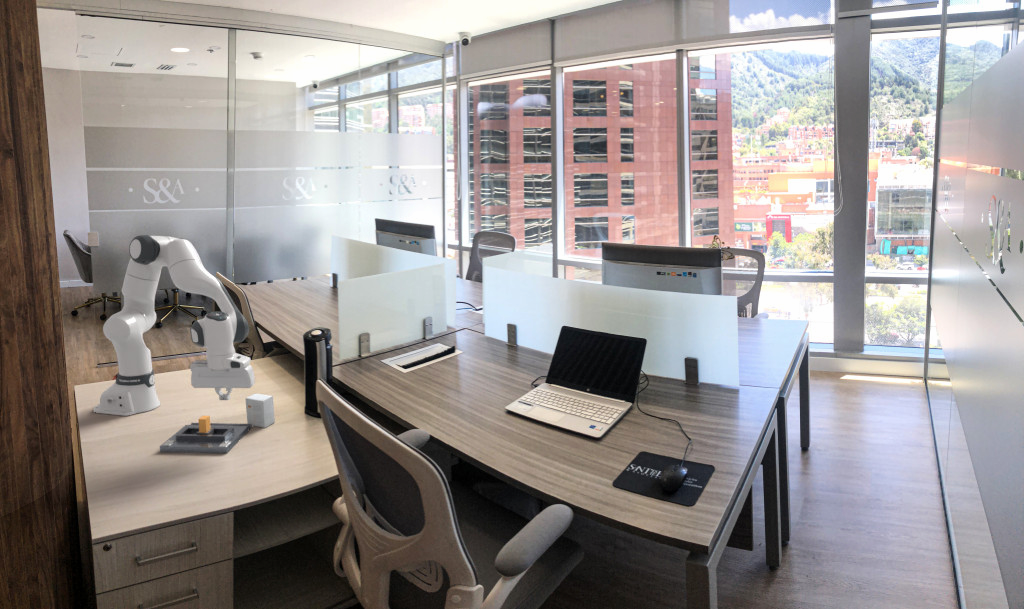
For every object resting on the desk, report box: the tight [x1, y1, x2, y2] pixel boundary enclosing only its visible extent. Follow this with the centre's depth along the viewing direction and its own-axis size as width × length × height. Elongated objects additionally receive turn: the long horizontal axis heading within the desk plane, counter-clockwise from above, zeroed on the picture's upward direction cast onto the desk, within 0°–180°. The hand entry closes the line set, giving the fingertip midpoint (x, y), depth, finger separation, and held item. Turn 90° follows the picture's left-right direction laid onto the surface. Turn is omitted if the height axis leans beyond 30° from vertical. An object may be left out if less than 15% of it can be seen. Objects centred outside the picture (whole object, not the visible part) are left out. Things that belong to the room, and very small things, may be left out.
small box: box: [245, 393, 276, 429], centre depth 239 cm, size 8×6×10 cm
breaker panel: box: [159, 424, 249, 454], centre depth 223 cm, size 22×18×4 cm
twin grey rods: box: [190, 422, 253, 431], centre depth 235 cm, size 22×3×1 cm, turn 91°
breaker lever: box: [196, 415, 214, 435], centre depth 223 cm, size 4×4×6 cm
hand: (224, 399), depth 221 cm, fingers closed
